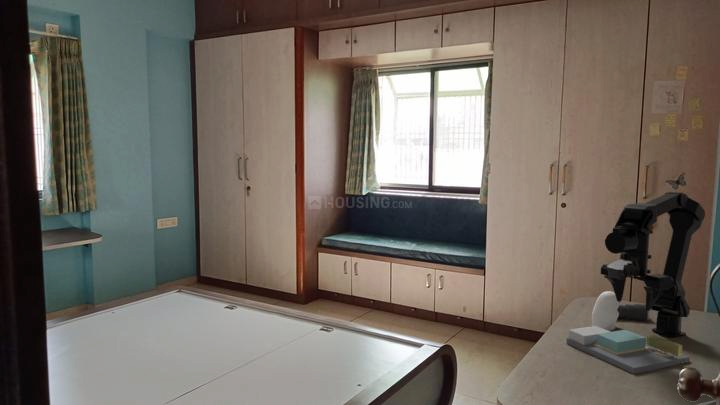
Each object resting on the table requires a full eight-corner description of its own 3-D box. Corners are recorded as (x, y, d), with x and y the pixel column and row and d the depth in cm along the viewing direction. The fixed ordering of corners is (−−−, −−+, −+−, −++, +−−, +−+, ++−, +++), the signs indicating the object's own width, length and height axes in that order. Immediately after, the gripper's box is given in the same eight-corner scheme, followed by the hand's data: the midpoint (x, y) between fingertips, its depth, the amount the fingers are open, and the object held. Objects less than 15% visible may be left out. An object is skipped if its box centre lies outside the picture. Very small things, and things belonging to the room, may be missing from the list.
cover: (624, 339, 143) (625, 329, 143) (645, 347, 137) (646, 337, 137) (596, 344, 139) (597, 334, 139) (616, 352, 133) (617, 342, 133)
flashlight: (598, 305, 164) (594, 298, 170) (596, 320, 166) (593, 314, 171) (650, 308, 161) (644, 302, 166) (648, 324, 162) (643, 317, 167)
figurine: (617, 334, 153) (619, 295, 152) (589, 329, 157) (591, 291, 156) (619, 327, 159) (621, 290, 158) (592, 323, 163) (594, 286, 162)
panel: (618, 334, 152) (618, 321, 152) (689, 362, 132) (690, 347, 131) (566, 343, 145) (567, 329, 144) (633, 373, 124) (634, 358, 124)
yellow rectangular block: (650, 347, 138) (651, 333, 138) (681, 359, 130) (682, 345, 129) (645, 348, 137) (646, 334, 137) (677, 360, 129) (678, 346, 129)
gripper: (587, 246, 145) (584, 299, 146) (645, 258, 128) (642, 319, 129) (616, 244, 149) (613, 296, 150) (676, 255, 132) (672, 314, 133)
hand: (633, 305), depth 141 cm, fingers open, 9 cm apart
